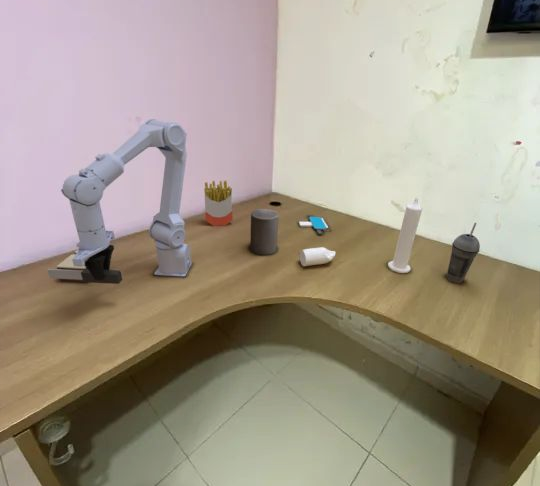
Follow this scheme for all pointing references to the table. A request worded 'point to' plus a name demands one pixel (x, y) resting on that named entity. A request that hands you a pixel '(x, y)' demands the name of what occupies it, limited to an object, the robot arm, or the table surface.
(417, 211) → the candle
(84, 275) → the knife
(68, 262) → the cake
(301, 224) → the blue flat paddle
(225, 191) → the french fries container
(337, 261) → the table surface
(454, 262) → the beverage cup
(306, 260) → the white bottle
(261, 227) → the pillar candle
